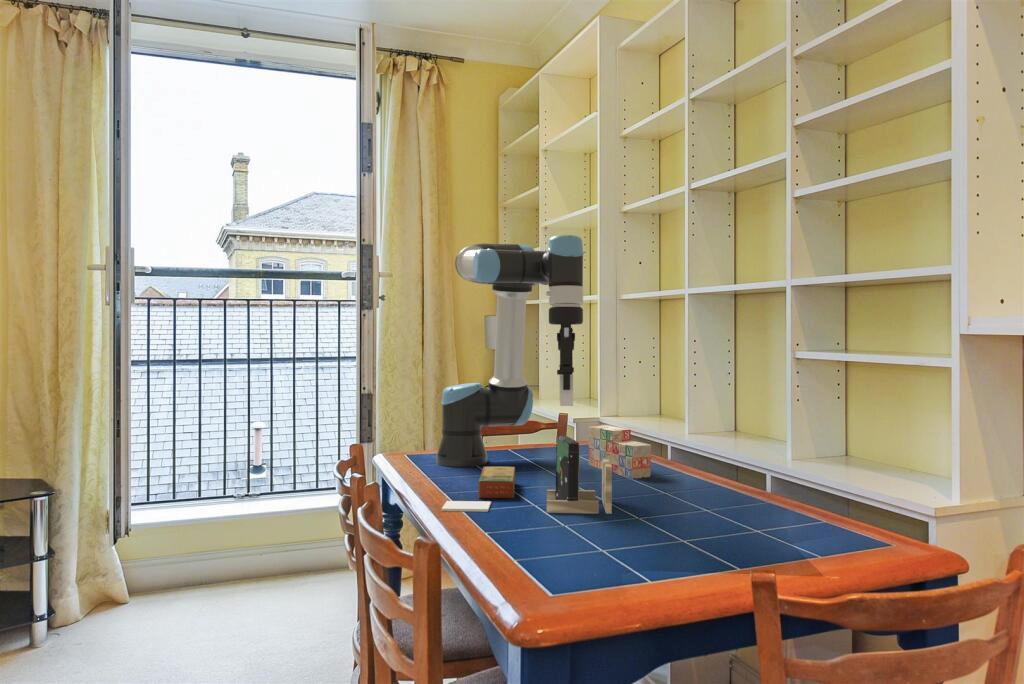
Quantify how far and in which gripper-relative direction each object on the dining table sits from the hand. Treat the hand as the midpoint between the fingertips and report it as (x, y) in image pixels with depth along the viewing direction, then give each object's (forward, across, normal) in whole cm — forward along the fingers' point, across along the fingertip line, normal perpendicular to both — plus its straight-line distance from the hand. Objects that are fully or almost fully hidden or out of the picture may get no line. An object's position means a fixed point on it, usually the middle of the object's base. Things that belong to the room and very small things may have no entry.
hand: (565, 403), depth 149 cm
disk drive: (+23, 0, 0) cm, 23 cm away
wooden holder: (+23, 0, +1) cm, 23 cm away
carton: (+25, -20, -17) cm, 36 cm away
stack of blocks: (+23, -40, +15) cm, 49 cm away
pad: (+23, +2, -22) cm, 32 cm away
